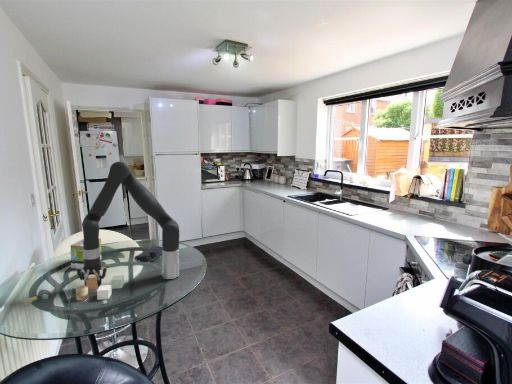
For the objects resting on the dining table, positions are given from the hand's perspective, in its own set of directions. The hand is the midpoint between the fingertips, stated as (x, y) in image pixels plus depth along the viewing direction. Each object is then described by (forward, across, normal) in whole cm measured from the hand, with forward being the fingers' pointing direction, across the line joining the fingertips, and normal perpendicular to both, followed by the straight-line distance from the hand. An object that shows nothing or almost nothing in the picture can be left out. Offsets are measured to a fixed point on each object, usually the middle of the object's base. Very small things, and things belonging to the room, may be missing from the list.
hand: (93, 286), depth 142 cm
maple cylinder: (+1, +2, +10) cm, 10 cm away
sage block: (+1, -12, 0) cm, 12 cm away
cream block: (+1, -8, +10) cm, 13 cm away
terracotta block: (+1, 0, 0) cm, 1 cm away
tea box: (+1, +14, -30) cm, 33 cm away
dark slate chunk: (+1, -23, -41) cm, 47 cm away
